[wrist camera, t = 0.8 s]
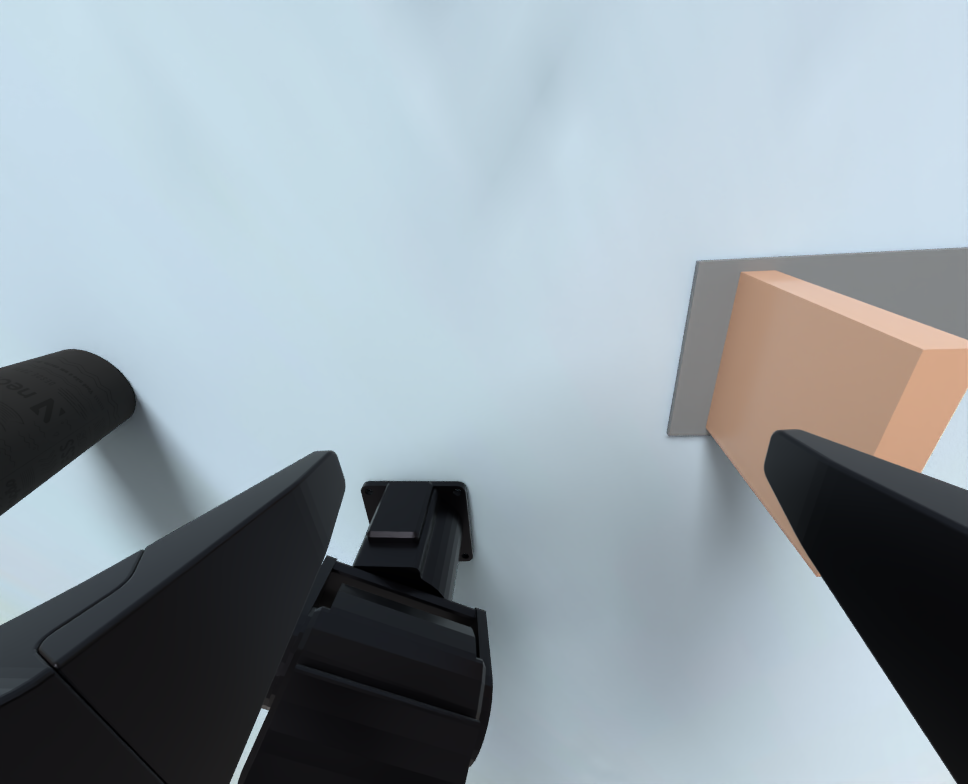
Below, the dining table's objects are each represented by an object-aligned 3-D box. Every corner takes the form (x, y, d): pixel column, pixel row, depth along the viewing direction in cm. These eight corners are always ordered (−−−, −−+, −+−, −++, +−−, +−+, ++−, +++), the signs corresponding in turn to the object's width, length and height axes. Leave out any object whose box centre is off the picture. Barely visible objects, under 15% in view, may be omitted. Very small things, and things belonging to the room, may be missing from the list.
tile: (738, 427, 21) (870, 577, 13) (705, 427, 21) (816, 576, 13) (781, 270, 17) (1001, 347, 9) (740, 272, 18) (923, 349, 10)
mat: (931, 430, 21) (937, 433, 20) (666, 432, 22) (668, 435, 22) (1031, 243, 16) (1039, 245, 16) (696, 260, 18) (699, 261, 17)
